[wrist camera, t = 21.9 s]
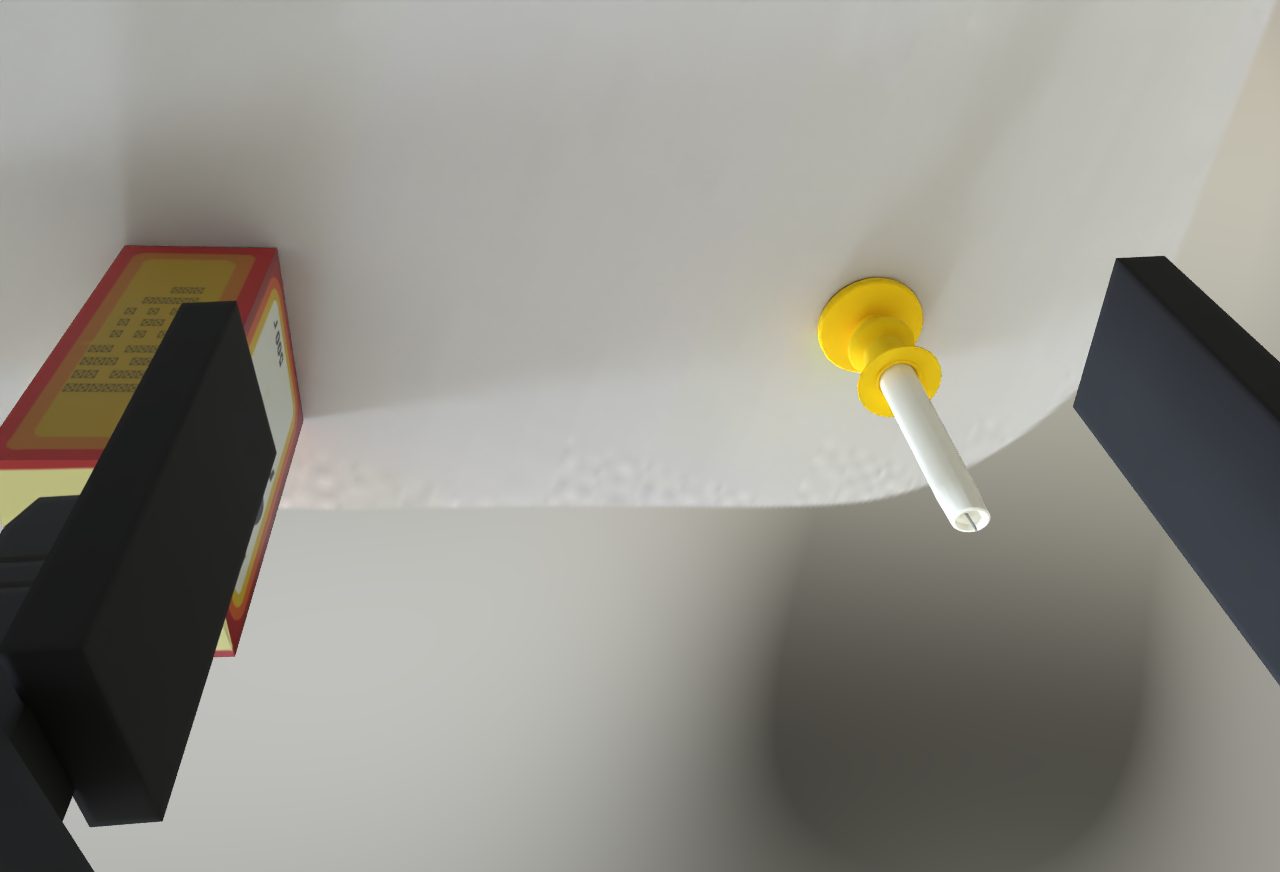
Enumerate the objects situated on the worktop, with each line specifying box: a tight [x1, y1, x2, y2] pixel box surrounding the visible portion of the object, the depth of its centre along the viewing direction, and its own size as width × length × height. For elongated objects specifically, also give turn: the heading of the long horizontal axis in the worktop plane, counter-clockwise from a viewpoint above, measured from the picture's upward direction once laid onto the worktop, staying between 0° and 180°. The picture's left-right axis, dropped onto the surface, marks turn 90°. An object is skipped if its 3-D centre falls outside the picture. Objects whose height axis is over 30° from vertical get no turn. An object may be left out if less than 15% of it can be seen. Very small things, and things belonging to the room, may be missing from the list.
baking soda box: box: [0, 246, 303, 657], centre depth 43 cm, size 10×6×16 cm
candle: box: [817, 278, 990, 532], centre depth 46 cm, size 5×5×16 cm
